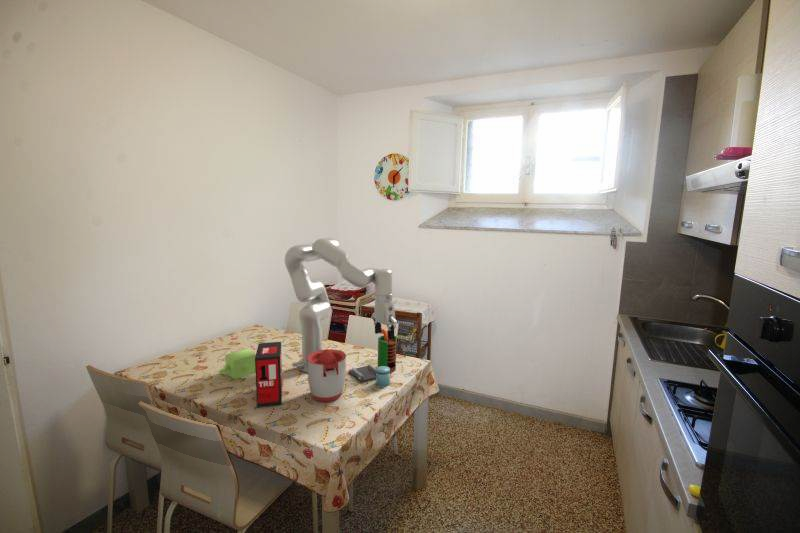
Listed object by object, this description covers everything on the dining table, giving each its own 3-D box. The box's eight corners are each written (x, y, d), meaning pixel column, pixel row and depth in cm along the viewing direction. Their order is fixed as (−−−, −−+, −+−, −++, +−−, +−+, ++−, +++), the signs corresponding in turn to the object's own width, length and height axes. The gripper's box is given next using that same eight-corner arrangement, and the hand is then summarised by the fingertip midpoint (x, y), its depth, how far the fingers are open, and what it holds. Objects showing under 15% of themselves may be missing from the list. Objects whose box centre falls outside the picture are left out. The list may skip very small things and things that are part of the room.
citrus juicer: (312, 410, 137) (311, 360, 134) (304, 390, 153) (303, 345, 150) (352, 402, 144) (351, 354, 141) (341, 383, 159) (340, 340, 156)
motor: (393, 374, 169) (393, 333, 166) (374, 372, 171) (375, 332, 168) (397, 366, 179) (398, 327, 176) (380, 364, 181) (380, 325, 178)
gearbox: (224, 384, 158) (223, 364, 156) (216, 376, 164) (214, 357, 162) (264, 371, 171) (263, 352, 169) (254, 364, 177) (253, 346, 175)
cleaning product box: (260, 388, 154) (258, 343, 151) (282, 385, 157) (281, 341, 154) (257, 408, 139) (254, 358, 136) (281, 404, 141) (279, 356, 138)
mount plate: (361, 383, 160) (361, 377, 160) (348, 372, 171) (348, 367, 171) (382, 377, 166) (382, 372, 166) (369, 367, 177) (369, 362, 177)
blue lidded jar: (380, 388, 156) (380, 373, 155) (373, 382, 161) (373, 367, 160) (392, 384, 159) (392, 369, 158) (385, 379, 164) (385, 364, 163)
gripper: (402, 299, 152) (403, 339, 154) (379, 293, 166) (380, 329, 168) (388, 302, 148) (389, 342, 150) (365, 295, 161) (366, 332, 163)
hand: (384, 335), depth 159 cm, fingers open, 9 cm apart
